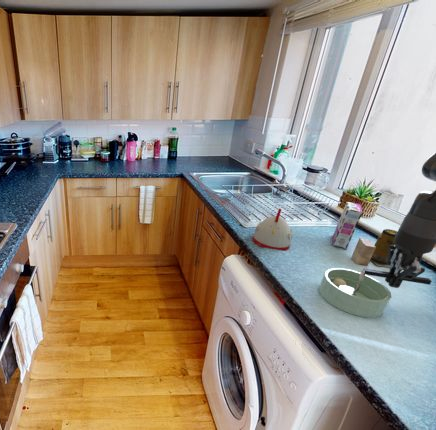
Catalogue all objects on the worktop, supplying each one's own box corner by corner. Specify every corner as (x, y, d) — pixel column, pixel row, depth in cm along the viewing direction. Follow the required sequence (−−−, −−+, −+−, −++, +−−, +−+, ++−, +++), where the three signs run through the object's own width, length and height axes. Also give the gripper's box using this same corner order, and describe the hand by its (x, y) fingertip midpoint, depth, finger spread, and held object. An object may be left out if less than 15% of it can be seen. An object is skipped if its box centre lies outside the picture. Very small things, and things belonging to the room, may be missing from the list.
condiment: (383, 256, 111) (397, 228, 106) (399, 268, 103) (414, 239, 98) (362, 254, 112) (375, 226, 107) (376, 266, 104) (390, 237, 99)
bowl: (369, 291, 91) (377, 274, 89) (392, 326, 78) (402, 307, 75) (312, 279, 96) (319, 263, 94) (325, 310, 83) (333, 293, 80)
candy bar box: (347, 249, 115) (363, 212, 108) (332, 245, 117) (346, 209, 110) (346, 238, 123) (361, 203, 116) (332, 235, 126) (346, 200, 119)
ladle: (340, 297, 86) (350, 271, 82) (334, 289, 89) (344, 263, 86) (420, 312, 80) (435, 284, 76) (410, 302, 84) (425, 275, 80)
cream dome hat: (249, 244, 117) (257, 210, 111) (255, 231, 128) (263, 200, 121) (287, 254, 110) (299, 220, 104) (290, 240, 121) (301, 207, 114)
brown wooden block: (360, 258, 109) (369, 239, 105) (366, 267, 104) (376, 247, 100) (351, 257, 110) (359, 238, 106) (356, 265, 105) (365, 245, 101)
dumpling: (342, 285, 92) (342, 276, 91) (348, 292, 89) (349, 281, 88) (329, 286, 93) (329, 276, 92) (335, 292, 89) (336, 282, 88)
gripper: (455, 246, 68) (421, 303, 75) (422, 222, 79) (395, 274, 87) (416, 240, 70) (386, 296, 77) (389, 218, 82) (365, 268, 89)
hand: (391, 284), depth 82 cm, fingers closed on ladle, 1 cm apart
